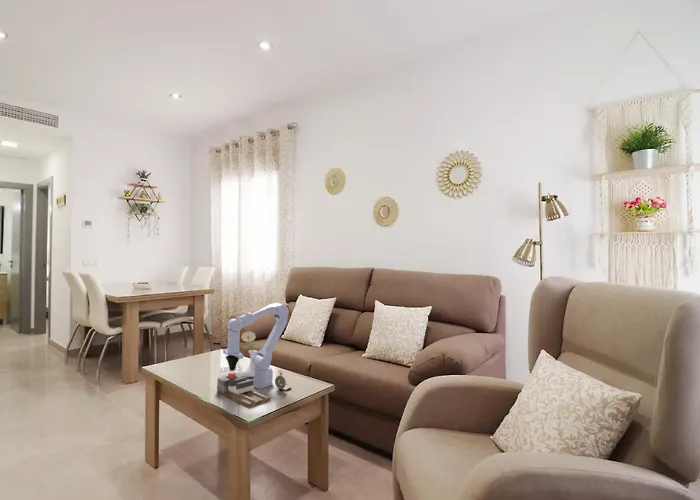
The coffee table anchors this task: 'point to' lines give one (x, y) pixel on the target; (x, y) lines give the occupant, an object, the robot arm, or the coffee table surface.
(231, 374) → the button
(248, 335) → the flower in vase
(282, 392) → the coffee table surface
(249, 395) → the rail board
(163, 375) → the coffee table surface
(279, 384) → the pocket watch
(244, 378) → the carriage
